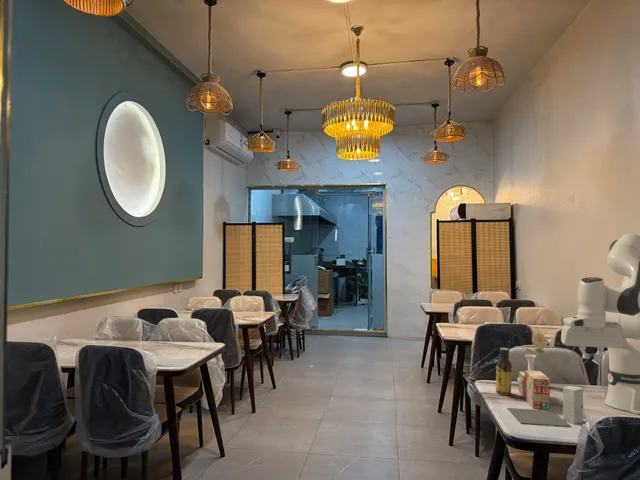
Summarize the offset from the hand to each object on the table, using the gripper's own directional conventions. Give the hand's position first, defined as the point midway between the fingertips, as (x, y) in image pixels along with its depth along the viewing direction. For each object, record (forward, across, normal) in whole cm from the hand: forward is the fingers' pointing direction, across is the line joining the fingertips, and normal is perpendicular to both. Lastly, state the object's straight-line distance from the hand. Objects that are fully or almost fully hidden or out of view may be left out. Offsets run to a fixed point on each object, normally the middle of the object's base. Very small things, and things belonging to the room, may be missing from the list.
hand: (591, 358), depth 156 cm
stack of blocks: (+24, +12, -21) cm, 34 cm away
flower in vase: (+23, +4, -44) cm, 50 cm away
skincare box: (+23, +6, 0) cm, 24 cm away
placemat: (+23, +18, -1) cm, 30 cm away
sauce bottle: (+23, +22, -28) cm, 43 cm away
